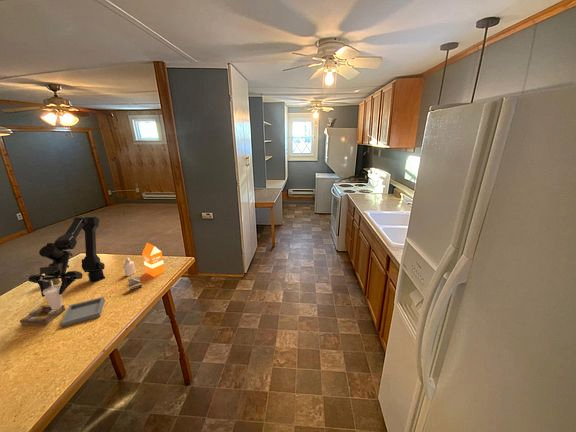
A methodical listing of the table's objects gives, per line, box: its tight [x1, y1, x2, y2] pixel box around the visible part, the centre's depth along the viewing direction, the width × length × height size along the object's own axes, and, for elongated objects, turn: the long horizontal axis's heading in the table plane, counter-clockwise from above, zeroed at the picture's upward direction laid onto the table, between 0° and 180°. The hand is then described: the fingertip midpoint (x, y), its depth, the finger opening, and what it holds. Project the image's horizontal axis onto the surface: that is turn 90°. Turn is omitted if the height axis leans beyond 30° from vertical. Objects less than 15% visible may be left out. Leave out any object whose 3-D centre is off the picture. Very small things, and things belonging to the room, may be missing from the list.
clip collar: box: [19, 304, 66, 327], centre depth 113 cm, size 11×11×4 cm
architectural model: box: [126, 275, 143, 290], centre depth 134 cm, size 3×7×7 cm, turn 130°
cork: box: [44, 274, 61, 287], centre depth 138 cm, size 6×6×11 cm
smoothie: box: [43, 280, 63, 309], centre depth 110 cm, size 6×6×14 cm
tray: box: [60, 296, 105, 328], centre depth 116 cm, size 14×14×2 cm
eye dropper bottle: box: [123, 256, 137, 277], centre depth 148 cm, size 4×6×12 cm
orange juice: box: [142, 242, 166, 278], centre depth 150 cm, size 8×9×20 cm
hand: (51, 295), depth 108 cm, fingers closed on smoothie, 6 cm apart
